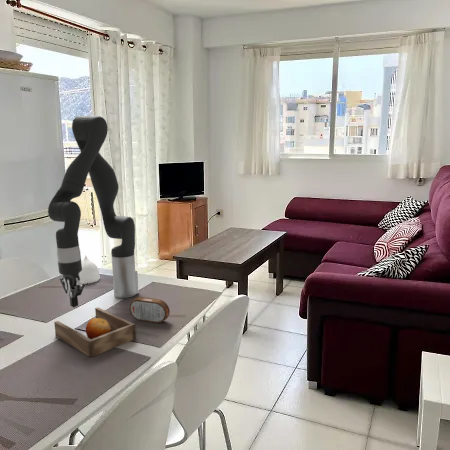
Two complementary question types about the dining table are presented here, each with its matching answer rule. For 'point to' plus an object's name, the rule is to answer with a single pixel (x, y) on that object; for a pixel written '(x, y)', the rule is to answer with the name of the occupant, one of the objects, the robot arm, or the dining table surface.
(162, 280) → the dining table surface
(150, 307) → the tin
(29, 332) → the dining table surface
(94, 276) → the teardrop
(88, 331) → the fruit
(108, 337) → the wooden u-shaped frame
